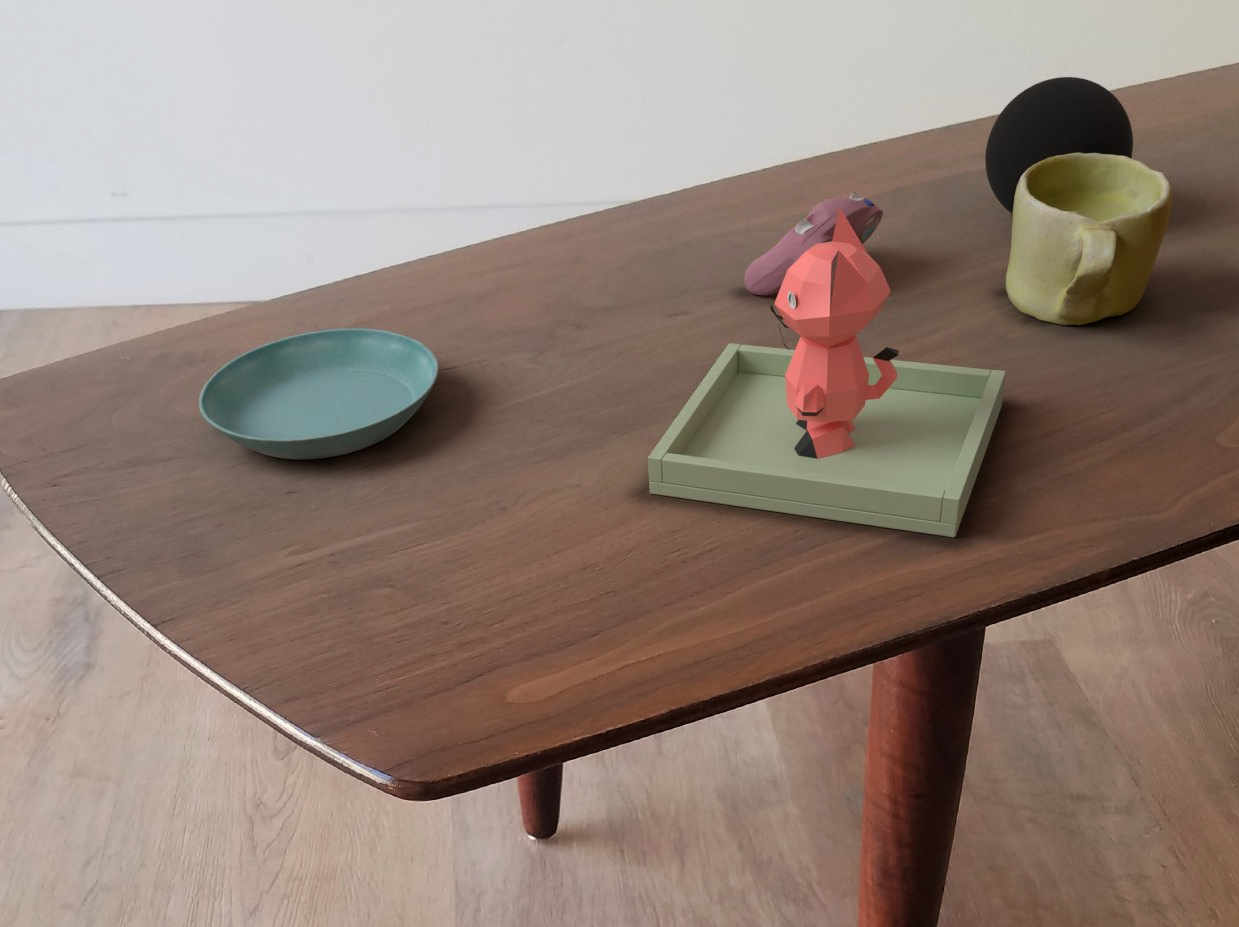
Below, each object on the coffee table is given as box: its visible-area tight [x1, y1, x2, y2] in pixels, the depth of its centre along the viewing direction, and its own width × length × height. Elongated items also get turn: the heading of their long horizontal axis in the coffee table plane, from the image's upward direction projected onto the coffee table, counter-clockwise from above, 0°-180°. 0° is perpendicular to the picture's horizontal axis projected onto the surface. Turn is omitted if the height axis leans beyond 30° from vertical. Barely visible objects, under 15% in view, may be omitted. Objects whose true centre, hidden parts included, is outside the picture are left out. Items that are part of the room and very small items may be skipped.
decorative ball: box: [984, 76, 1134, 215], centre depth 99 cm, size 10×10×10 cm
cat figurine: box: [769, 207, 900, 459], centre depth 74 cm, size 7×7×12 cm
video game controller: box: [743, 191, 884, 296], centre depth 95 cm, size 10×5×7 cm, turn 137°
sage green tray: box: [647, 342, 1007, 538], centre depth 77 cm, size 17×15×2 cm
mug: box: [1005, 153, 1173, 326], centre depth 88 cm, size 12×10×10 cm
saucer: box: [198, 327, 439, 460], centre depth 85 cm, size 15×15×3 cm
